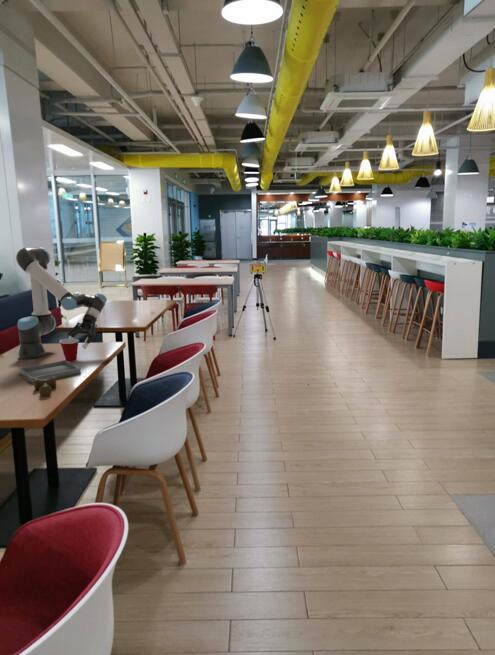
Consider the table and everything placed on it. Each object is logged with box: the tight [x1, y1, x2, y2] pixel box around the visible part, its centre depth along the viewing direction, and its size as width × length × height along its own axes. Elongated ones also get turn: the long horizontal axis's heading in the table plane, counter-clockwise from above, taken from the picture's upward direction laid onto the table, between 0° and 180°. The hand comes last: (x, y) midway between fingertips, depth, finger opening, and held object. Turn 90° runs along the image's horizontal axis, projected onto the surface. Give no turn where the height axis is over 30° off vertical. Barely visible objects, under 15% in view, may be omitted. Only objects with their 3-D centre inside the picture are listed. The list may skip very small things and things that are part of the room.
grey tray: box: [19, 359, 82, 385], centre depth 260 cm, size 24×24×3 cm
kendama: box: [33, 376, 57, 398], centre depth 232 cm, size 6×10×20 cm
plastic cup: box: [59, 338, 80, 363], centre depth 287 cm, size 11×11×12 cm
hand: (75, 347), depth 288 cm, fingers open, 13 cm apart
